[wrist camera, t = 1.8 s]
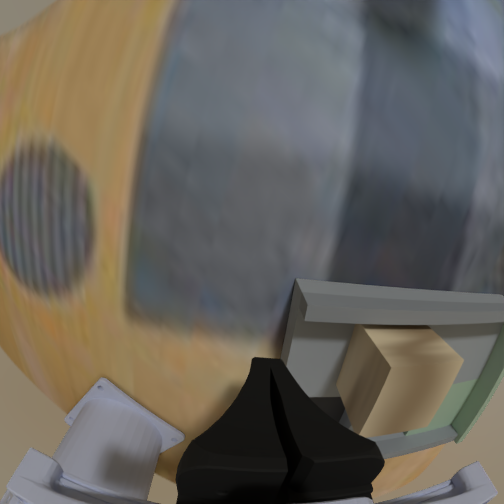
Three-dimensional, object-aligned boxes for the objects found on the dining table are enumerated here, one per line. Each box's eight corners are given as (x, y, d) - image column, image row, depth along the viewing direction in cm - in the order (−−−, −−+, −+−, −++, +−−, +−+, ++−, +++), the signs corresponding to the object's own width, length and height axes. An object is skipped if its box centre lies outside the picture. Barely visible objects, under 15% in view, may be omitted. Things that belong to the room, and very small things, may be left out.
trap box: (500, 294, 16) (531, 312, 12) (444, 416, 19) (461, 441, 16) (295, 278, 16) (310, 309, 12) (262, 434, 19) (265, 474, 15)
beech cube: (422, 320, 14) (464, 360, 10) (398, 381, 15) (427, 426, 11) (356, 318, 14) (391, 367, 10) (335, 384, 15) (356, 438, 11)
